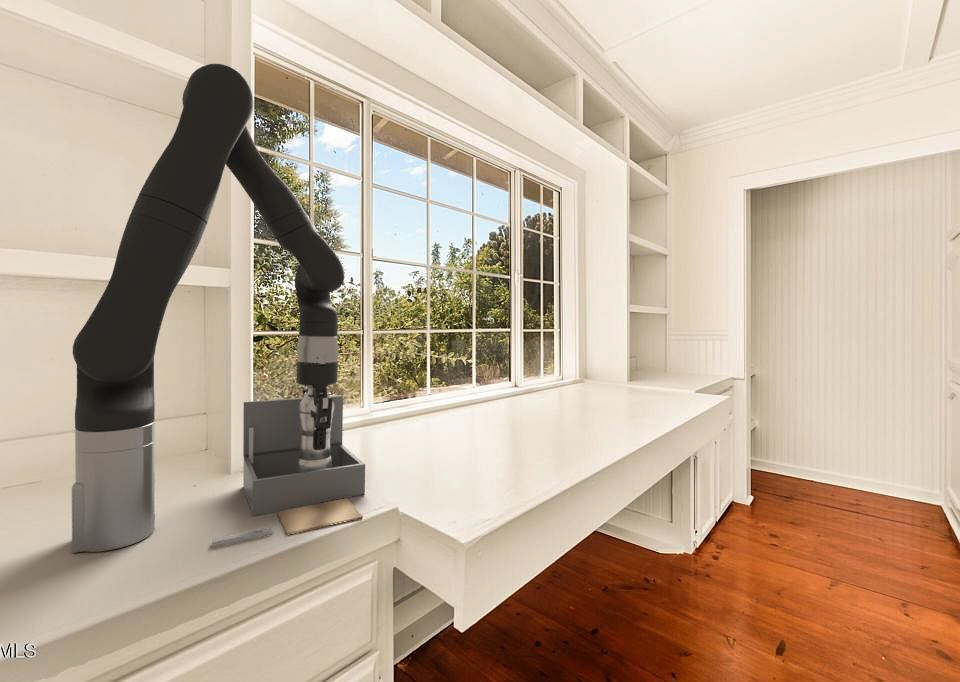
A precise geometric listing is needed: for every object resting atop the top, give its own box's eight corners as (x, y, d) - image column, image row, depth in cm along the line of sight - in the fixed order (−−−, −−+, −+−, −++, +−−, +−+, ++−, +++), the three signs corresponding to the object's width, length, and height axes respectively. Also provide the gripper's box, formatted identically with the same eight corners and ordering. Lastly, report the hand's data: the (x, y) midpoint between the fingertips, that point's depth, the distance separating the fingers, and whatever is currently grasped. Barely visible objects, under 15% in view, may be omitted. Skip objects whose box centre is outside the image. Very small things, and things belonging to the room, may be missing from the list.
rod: (212, 550, 65) (212, 542, 65) (211, 547, 66) (211, 539, 66) (271, 537, 69) (272, 529, 69) (270, 534, 70) (270, 526, 70)
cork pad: (287, 535, 69) (287, 532, 69) (277, 513, 77) (277, 511, 77) (362, 518, 76) (362, 516, 76) (347, 500, 83) (347, 498, 83)
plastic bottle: (288, 482, 85) (291, 379, 84) (316, 472, 91) (319, 376, 90) (312, 489, 82) (315, 382, 81) (339, 479, 88) (342, 379, 87)
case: (252, 516, 75) (253, 417, 75) (243, 485, 89) (243, 401, 89) (364, 494, 86) (366, 408, 86) (340, 470, 100) (342, 395, 99)
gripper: (290, 356, 90) (287, 439, 90) (305, 362, 78) (302, 457, 78) (327, 356, 94) (325, 435, 94) (348, 362, 82) (345, 452, 82)
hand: (315, 445), depth 86 cm, fingers closed on plastic bottle, 5 cm apart
